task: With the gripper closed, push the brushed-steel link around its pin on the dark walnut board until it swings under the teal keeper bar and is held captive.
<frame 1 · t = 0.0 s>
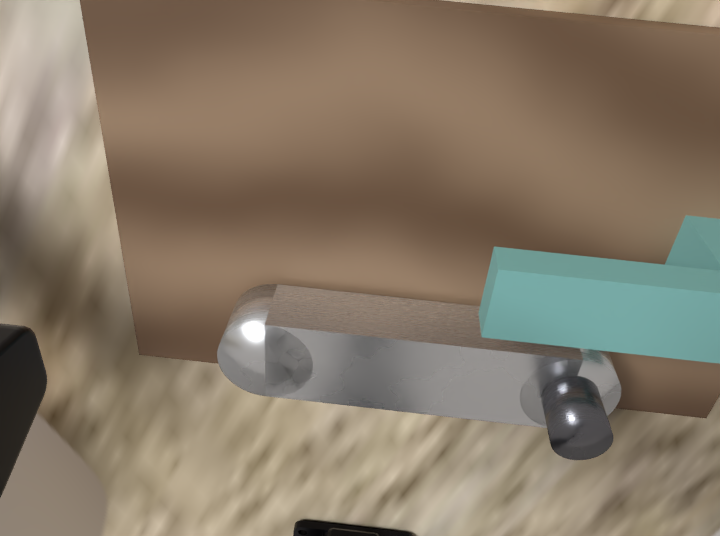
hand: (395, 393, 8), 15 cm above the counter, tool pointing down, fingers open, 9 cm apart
keeper: (586, 223, 23), resting on board
board: (446, 220, 23), on the counter
link: (416, 375, 23), point 4 cm above the counter, hinge at 90.0°
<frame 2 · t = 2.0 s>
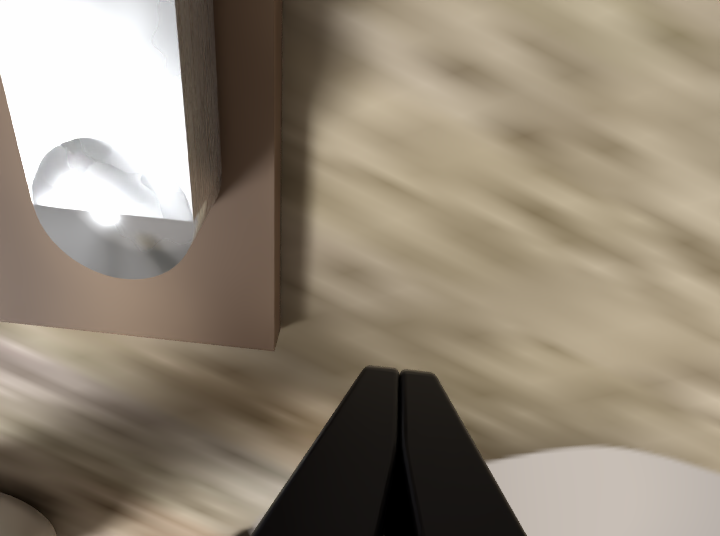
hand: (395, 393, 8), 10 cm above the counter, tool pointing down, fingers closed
plastic bottle: (3, 509, 27), on the counter
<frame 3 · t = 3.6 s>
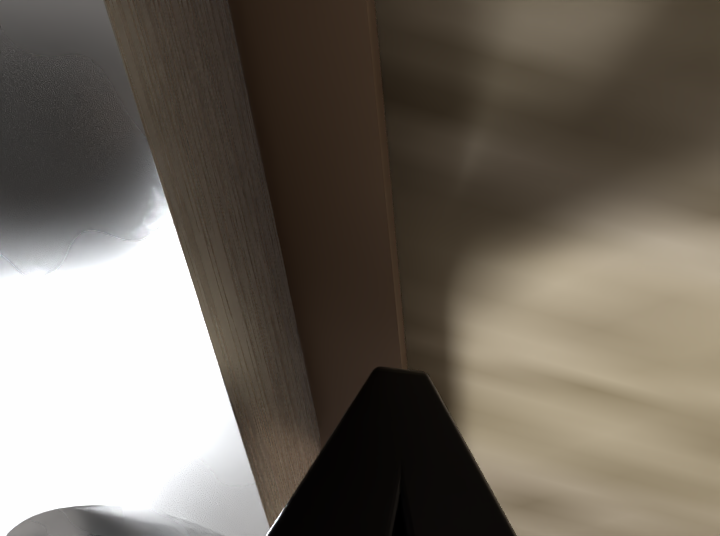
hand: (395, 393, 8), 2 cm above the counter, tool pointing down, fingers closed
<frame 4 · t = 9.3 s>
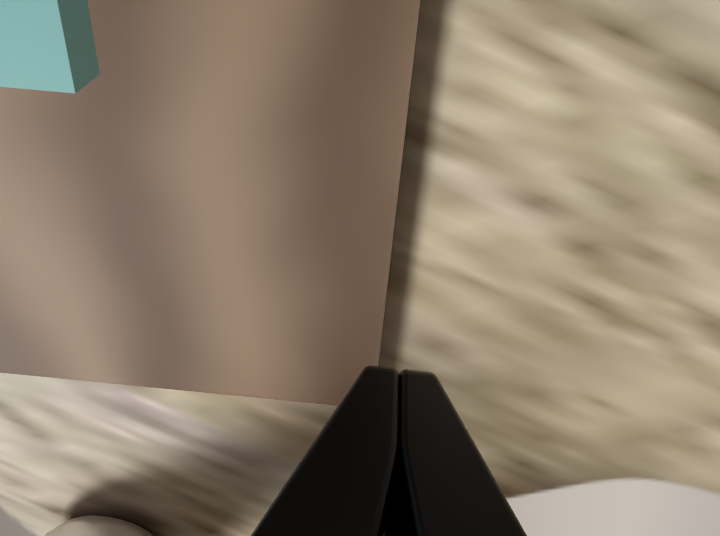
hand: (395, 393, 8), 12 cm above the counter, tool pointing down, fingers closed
board: (142, 59, 18), on the counter
plastic bottle: (117, 532, 31), on the counter
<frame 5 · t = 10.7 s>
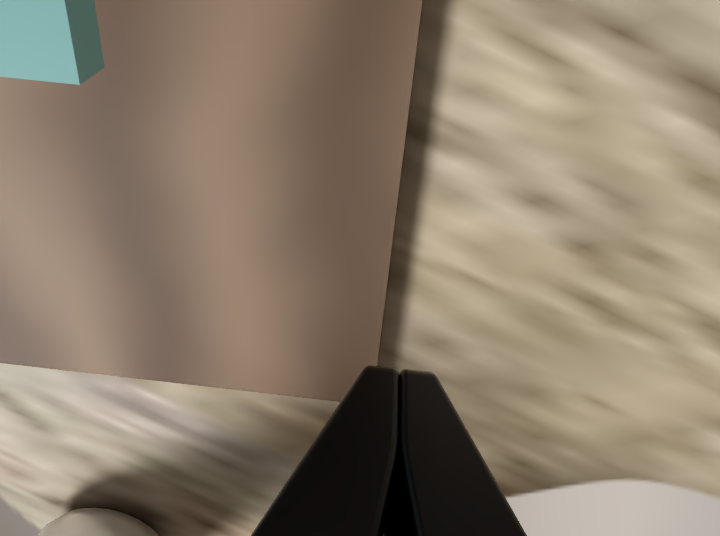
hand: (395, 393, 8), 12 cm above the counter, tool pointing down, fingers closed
board: (147, 54, 18), on the counter
plastic bottle: (116, 525, 32), on the counter
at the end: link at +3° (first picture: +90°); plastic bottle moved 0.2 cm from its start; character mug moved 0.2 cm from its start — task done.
